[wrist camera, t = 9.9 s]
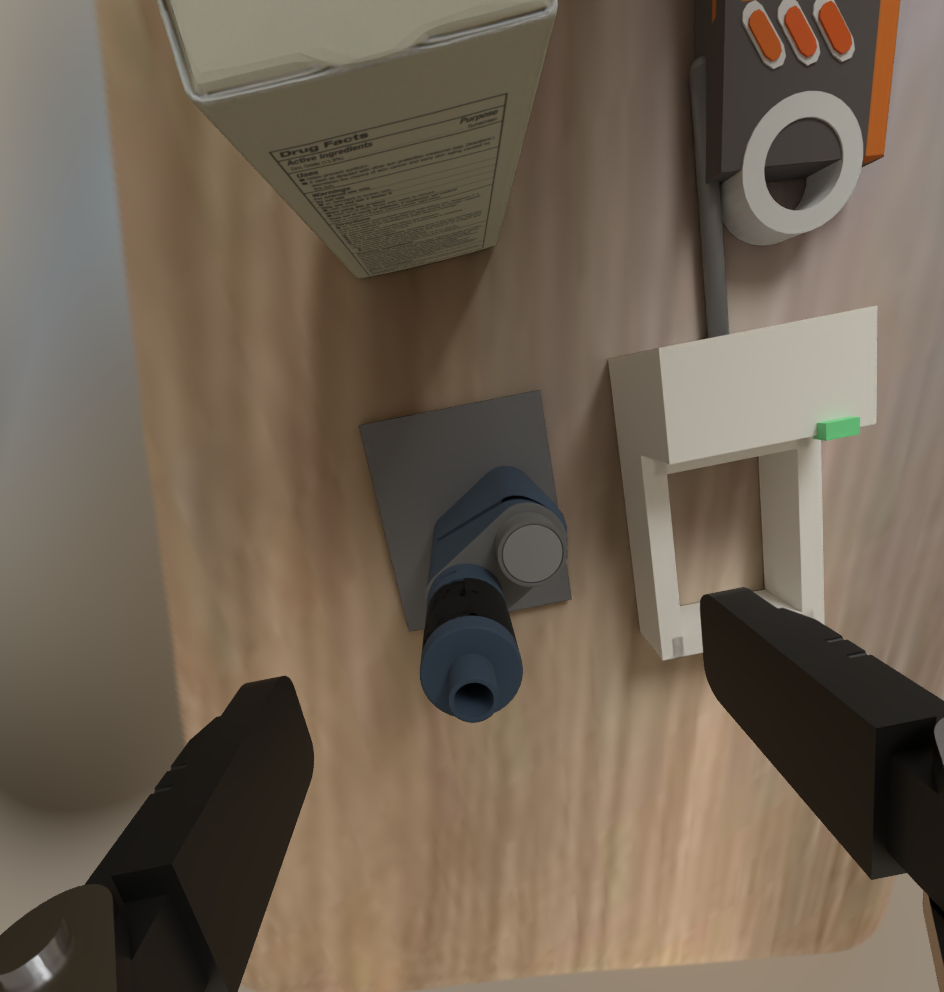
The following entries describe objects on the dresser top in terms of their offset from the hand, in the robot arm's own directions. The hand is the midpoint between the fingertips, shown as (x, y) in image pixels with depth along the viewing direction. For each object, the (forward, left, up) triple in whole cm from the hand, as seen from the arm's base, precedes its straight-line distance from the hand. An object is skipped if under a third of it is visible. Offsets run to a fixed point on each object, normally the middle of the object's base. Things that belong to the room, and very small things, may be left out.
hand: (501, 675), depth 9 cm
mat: (0, 0, -13) cm, 13 cm away
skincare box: (-13, 0, -13) cm, 18 cm away
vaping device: (0, +1, -13) cm, 13 cm away
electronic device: (-16, +15, -14) cm, 26 cm away
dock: (-4, +11, -13) cm, 17 cm away
